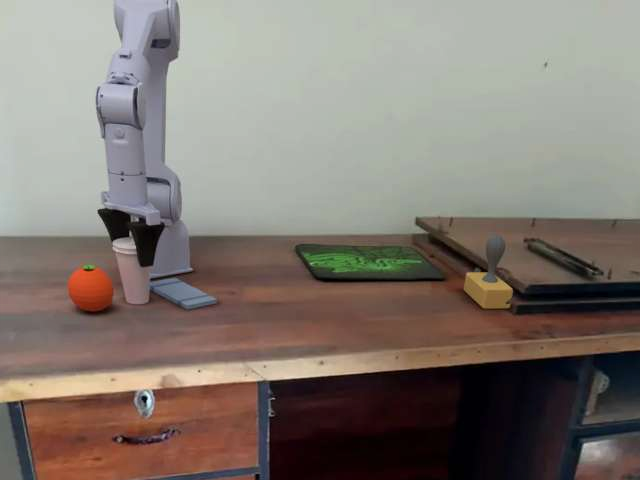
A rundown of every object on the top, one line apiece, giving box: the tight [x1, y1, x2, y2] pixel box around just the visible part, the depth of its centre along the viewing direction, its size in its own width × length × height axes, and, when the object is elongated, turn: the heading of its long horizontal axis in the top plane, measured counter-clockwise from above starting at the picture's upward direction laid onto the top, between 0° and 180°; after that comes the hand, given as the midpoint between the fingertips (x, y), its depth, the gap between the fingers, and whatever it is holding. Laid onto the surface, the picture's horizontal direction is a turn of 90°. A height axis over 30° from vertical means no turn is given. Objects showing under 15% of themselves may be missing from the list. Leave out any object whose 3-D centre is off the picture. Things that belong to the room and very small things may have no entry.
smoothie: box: [112, 215, 151, 305], centre depth 127 cm, size 6×6×14 cm
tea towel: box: [149, 277, 218, 311], centre depth 134 cm, size 6×13×1 cm, turn 45°
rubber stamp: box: [463, 234, 514, 309], centre depth 144 cm, size 10×6×12 cm, turn 16°
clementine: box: [67, 264, 115, 313], centre depth 124 cm, size 8×7×7 cm
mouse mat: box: [294, 243, 447, 281], centre depth 159 cm, size 27×22×1 cm
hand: (134, 259), depth 127 cm, fingers open, 7 cm apart
